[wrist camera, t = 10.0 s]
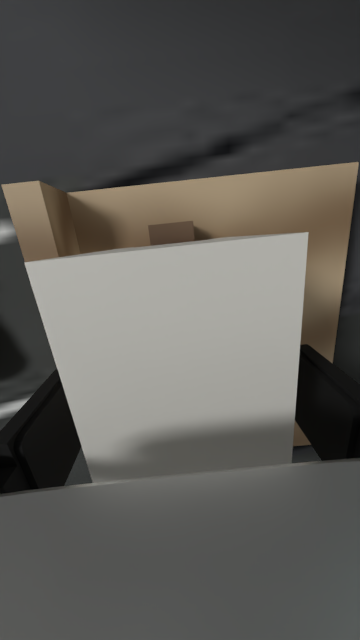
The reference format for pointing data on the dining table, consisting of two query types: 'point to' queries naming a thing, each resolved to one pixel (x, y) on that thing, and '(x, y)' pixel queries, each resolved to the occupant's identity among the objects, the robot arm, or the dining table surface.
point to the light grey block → (178, 352)
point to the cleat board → (205, 226)
